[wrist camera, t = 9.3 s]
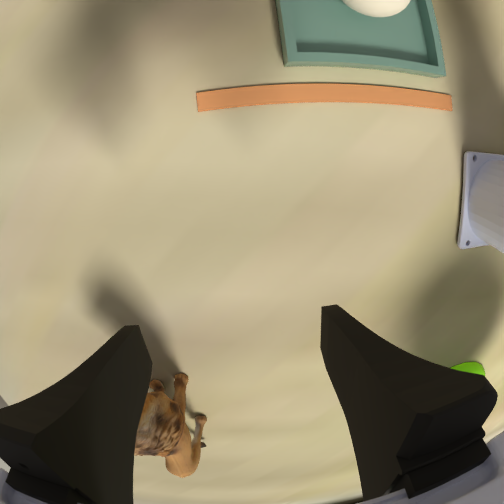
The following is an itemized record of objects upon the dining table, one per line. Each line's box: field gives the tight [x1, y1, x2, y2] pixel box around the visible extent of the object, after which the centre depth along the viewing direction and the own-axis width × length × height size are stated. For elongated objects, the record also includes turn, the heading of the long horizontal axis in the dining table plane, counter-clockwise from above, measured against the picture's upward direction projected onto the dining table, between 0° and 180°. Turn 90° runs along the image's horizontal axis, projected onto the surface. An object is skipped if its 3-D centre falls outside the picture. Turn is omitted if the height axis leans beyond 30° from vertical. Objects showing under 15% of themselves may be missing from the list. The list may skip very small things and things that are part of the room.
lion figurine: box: [134, 373, 207, 478], centre depth 22 cm, size 15×5×9 cm, turn 16°
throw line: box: [196, 84, 452, 112], centre depth 16 cm, size 18×1×1 cm, turn 96°
